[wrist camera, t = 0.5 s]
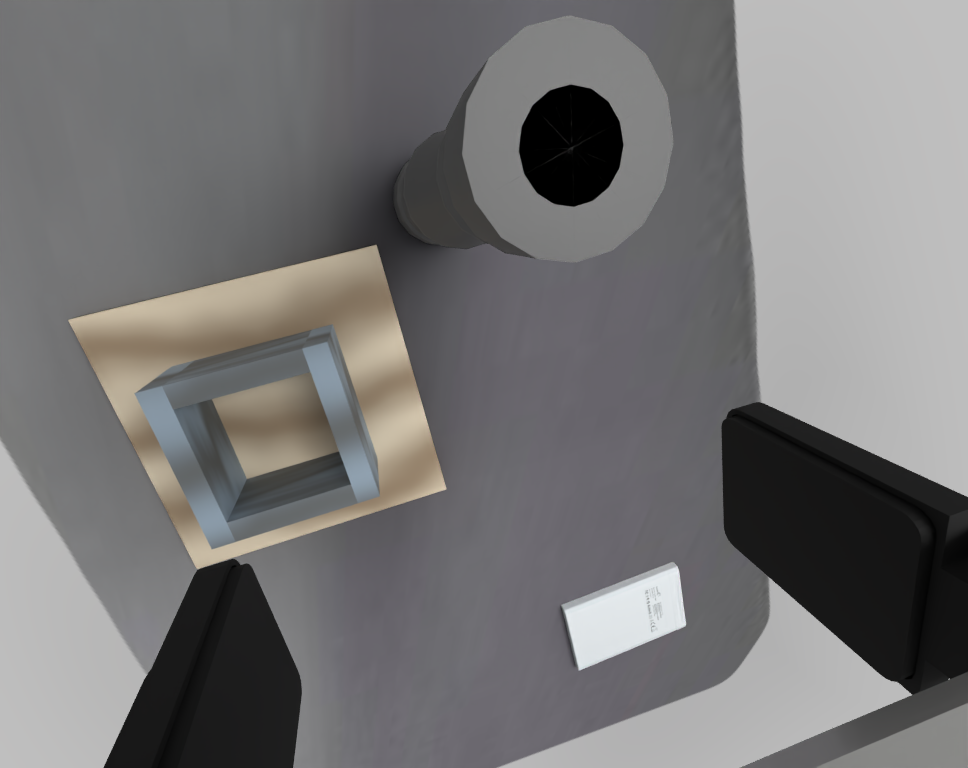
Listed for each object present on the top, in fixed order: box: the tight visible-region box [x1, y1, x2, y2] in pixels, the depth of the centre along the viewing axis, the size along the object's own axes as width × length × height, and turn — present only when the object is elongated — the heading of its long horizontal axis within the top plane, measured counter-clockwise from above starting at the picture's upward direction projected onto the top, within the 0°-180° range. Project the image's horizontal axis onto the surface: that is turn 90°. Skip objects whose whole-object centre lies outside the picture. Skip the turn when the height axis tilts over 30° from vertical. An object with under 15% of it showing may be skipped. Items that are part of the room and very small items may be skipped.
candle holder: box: [393, 15, 673, 263], centre depth 24 cm, size 6×6×25 cm
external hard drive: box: [561, 562, 686, 670], centre depth 52 cm, size 2×8×12 cm
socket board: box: [68, 245, 446, 569], centre depth 34 cm, size 20×20×7 cm
